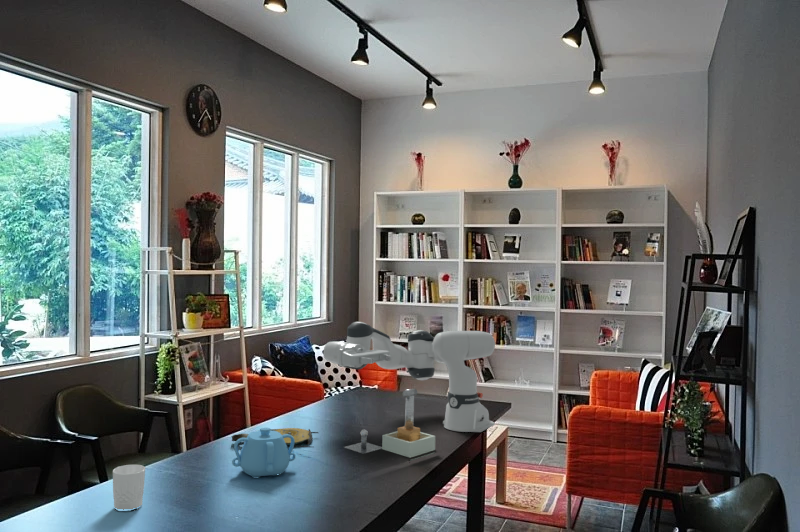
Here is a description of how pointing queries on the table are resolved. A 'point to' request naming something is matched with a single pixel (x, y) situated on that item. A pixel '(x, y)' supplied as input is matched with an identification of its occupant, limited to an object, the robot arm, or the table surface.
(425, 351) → the robot arm
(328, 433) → the table surface
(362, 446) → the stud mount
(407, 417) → the strut
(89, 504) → the table surface
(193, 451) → the table surface
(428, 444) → the bin
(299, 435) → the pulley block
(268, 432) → the decorative pot
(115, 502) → the white cup
